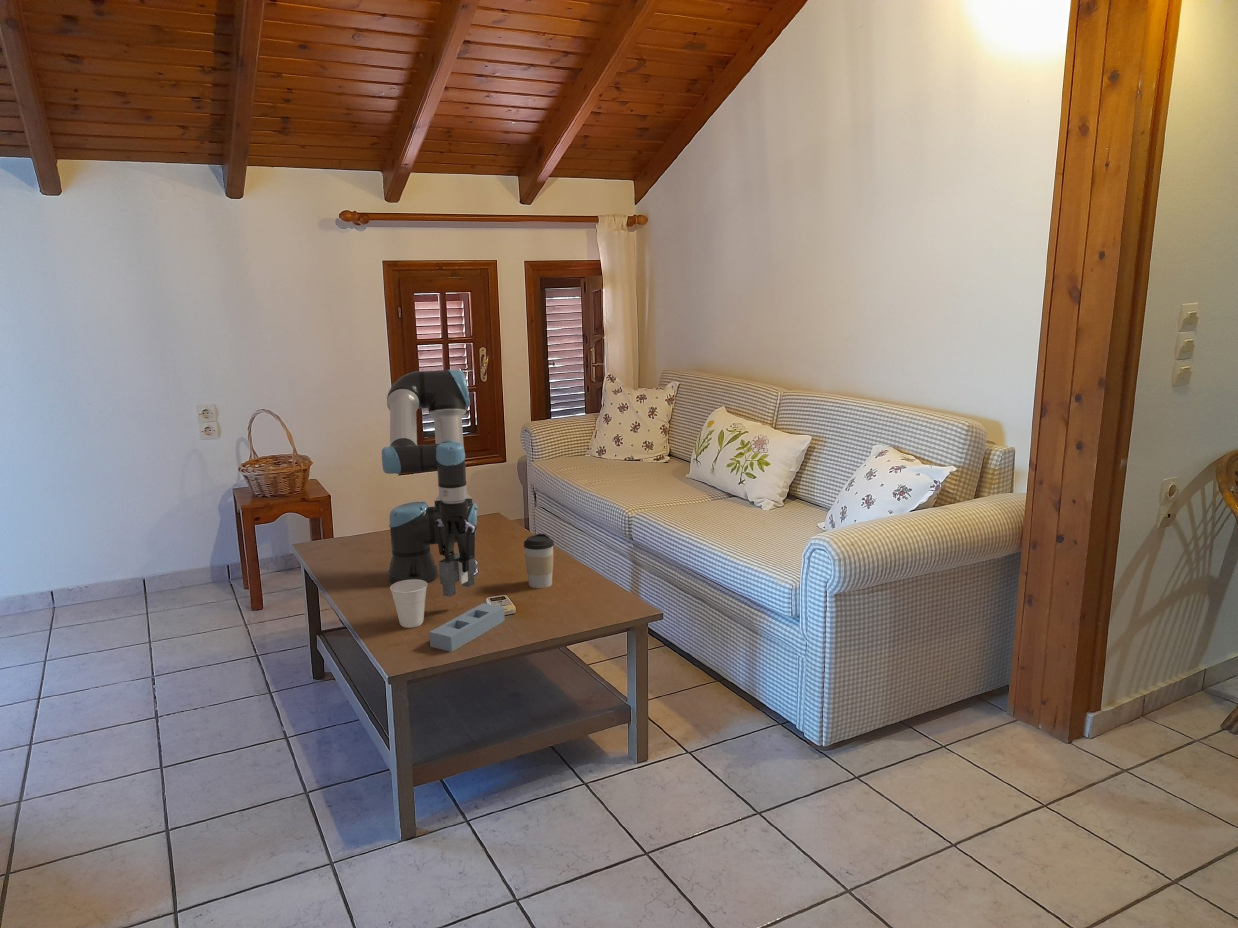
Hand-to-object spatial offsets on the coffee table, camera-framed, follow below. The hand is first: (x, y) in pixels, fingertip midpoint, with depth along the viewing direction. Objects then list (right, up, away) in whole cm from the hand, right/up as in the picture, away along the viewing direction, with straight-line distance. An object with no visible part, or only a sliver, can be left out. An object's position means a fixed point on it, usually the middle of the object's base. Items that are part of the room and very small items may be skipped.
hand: (458, 580), depth 245 cm
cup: (-12, -11, -5) cm, 17 cm away
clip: (0, -3, +1) cm, 3 cm away
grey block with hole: (+5, -12, -12) cm, 18 cm away
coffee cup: (+21, -4, +23) cm, 31 cm away
